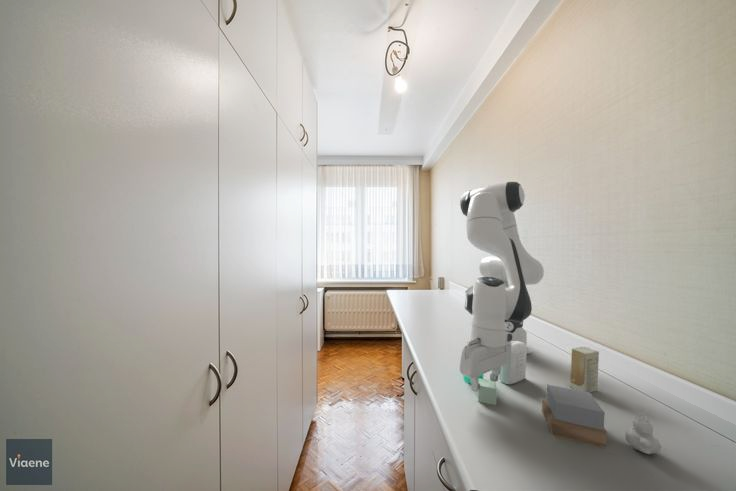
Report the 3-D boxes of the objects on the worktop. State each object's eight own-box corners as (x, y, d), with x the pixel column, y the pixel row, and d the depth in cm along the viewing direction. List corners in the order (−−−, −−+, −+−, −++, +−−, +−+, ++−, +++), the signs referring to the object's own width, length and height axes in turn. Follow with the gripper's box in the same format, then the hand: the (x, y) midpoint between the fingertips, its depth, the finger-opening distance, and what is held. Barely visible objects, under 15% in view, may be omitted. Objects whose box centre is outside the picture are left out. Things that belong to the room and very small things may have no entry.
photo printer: (514, 373, 95) (516, 337, 94) (527, 378, 91) (529, 341, 91) (497, 380, 89) (498, 342, 89) (510, 386, 85) (512, 346, 85)
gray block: (546, 399, 72) (546, 384, 72) (588, 408, 69) (589, 392, 69) (555, 419, 64) (555, 402, 64) (603, 430, 61) (604, 412, 61)
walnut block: (541, 412, 73) (542, 397, 73) (587, 422, 70) (588, 406, 70) (552, 436, 64) (552, 419, 64) (605, 449, 60) (606, 431, 60)
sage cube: (477, 393, 81) (478, 378, 81) (494, 397, 79) (495, 381, 79) (478, 401, 77) (478, 385, 76) (496, 405, 75) (496, 389, 75)
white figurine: (655, 448, 61) (656, 411, 61) (665, 467, 56) (667, 428, 55) (622, 437, 64) (623, 403, 64) (628, 455, 59) (630, 417, 58)
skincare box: (582, 384, 89) (584, 346, 89) (598, 391, 85) (600, 351, 85) (569, 386, 87) (570, 347, 87) (583, 394, 83) (585, 353, 82)
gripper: (476, 346, 69) (473, 401, 69) (516, 333, 81) (514, 380, 81) (455, 338, 74) (452, 390, 74) (495, 327, 86) (493, 372, 86)
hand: (484, 385), depth 78 cm, fingers open, 8 cm apart
